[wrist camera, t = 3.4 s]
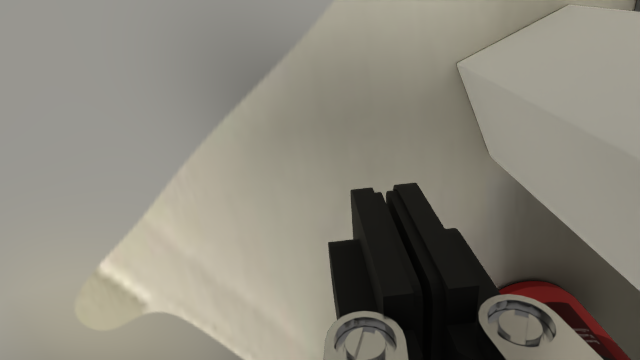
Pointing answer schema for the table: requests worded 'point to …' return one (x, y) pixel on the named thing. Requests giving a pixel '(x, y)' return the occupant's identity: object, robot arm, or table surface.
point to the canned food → (569, 315)
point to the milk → (569, 121)
